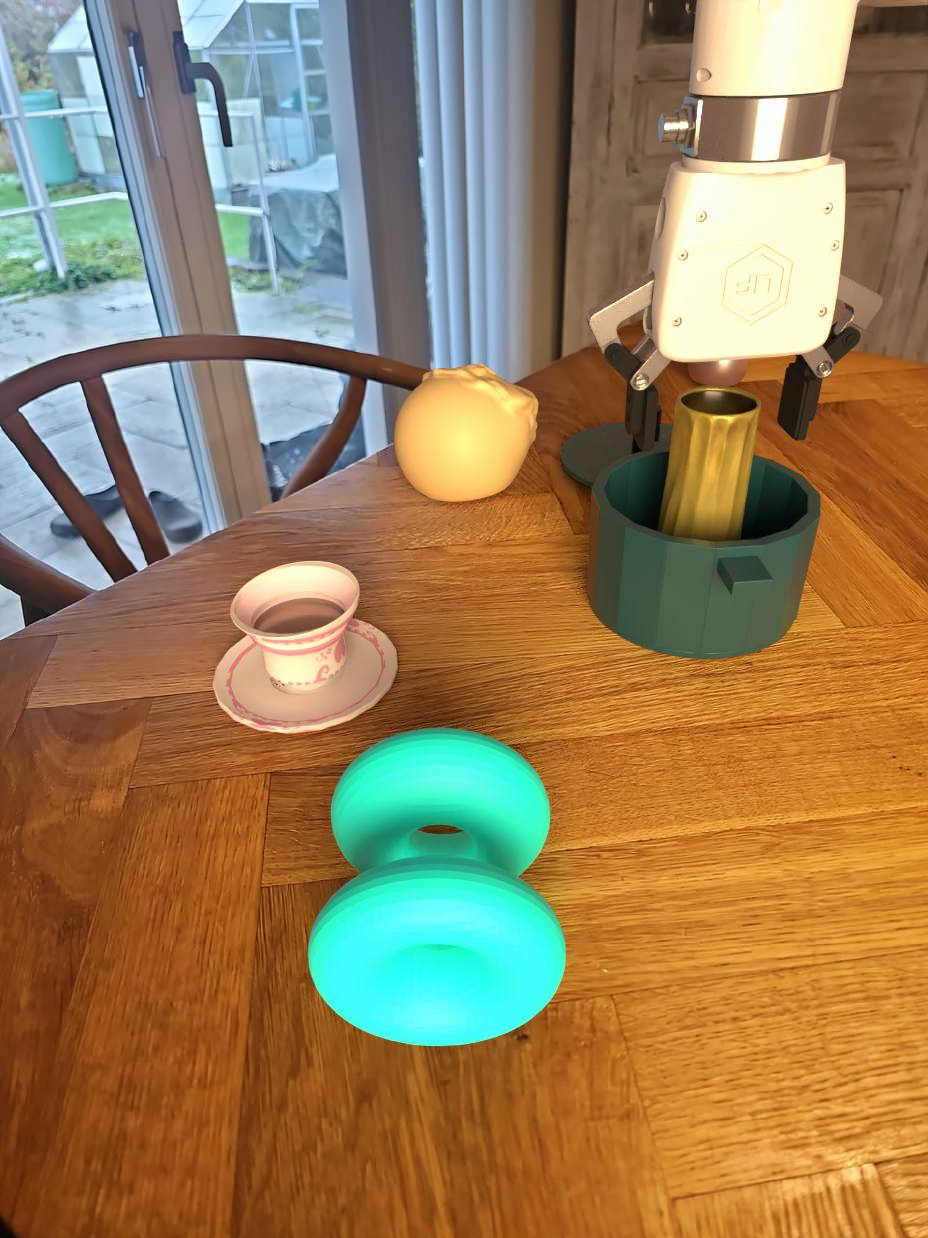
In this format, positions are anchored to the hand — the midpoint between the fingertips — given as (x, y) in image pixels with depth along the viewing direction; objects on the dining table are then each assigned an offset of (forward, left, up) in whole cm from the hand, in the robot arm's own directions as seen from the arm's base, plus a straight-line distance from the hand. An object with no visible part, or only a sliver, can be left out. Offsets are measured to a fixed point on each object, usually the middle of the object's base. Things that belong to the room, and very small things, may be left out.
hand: (716, 437), depth 54 cm
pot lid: (-2, -22, -12) cm, 25 cm away
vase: (0, 0, -12) cm, 12 cm away
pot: (0, 0, -12) cm, 12 cm away
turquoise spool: (+19, +27, -12) cm, 36 cm away
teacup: (+27, +6, -12) cm, 31 cm away
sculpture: (+15, -20, -12) cm, 28 cm away
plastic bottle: (-15, -42, -12) cm, 46 cm away
